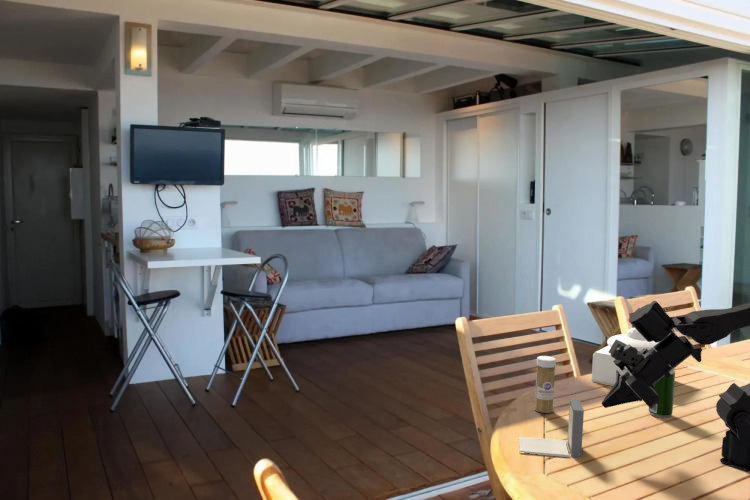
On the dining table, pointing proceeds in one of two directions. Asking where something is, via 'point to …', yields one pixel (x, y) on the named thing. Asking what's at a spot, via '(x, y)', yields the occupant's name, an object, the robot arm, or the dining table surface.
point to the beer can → (664, 396)
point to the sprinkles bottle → (545, 384)
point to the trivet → (543, 446)
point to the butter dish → (604, 362)
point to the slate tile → (575, 428)
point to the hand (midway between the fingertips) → (603, 405)
